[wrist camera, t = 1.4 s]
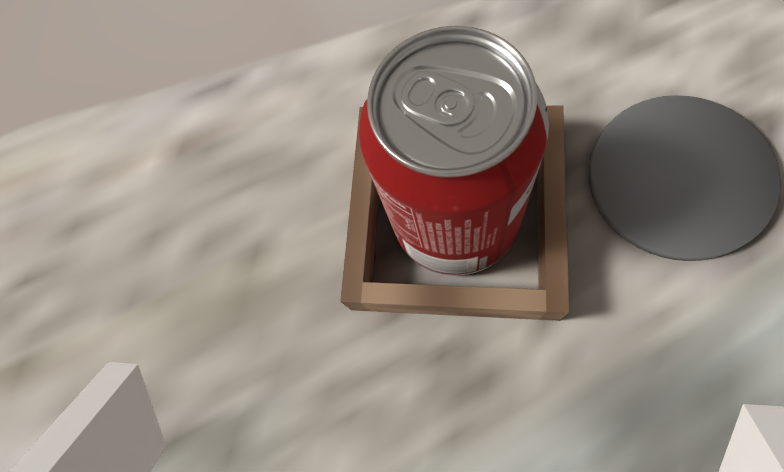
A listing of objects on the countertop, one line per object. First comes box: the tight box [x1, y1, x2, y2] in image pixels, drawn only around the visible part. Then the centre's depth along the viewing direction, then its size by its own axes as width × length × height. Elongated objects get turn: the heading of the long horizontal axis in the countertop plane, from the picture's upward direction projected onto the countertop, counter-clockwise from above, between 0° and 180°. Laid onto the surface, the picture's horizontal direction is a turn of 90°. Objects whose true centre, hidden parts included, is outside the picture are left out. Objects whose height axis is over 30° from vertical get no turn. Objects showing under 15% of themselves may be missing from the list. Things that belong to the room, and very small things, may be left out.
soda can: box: [359, 26, 549, 275], centre depth 23 cm, size 7×7×12 cm
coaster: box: [589, 96, 781, 261], centre depth 27 cm, size 9×9×1 cm
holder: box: [341, 106, 569, 321], centre depth 27 cm, size 11×11×2 cm
